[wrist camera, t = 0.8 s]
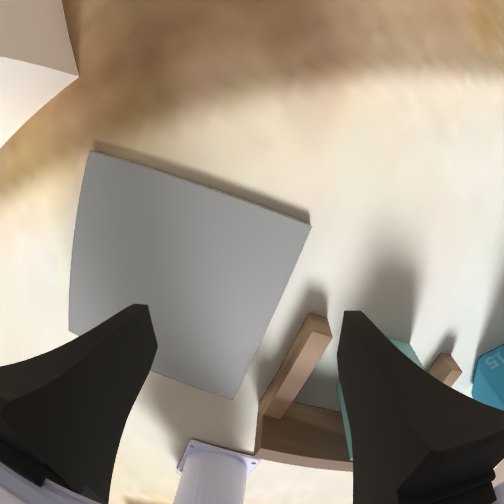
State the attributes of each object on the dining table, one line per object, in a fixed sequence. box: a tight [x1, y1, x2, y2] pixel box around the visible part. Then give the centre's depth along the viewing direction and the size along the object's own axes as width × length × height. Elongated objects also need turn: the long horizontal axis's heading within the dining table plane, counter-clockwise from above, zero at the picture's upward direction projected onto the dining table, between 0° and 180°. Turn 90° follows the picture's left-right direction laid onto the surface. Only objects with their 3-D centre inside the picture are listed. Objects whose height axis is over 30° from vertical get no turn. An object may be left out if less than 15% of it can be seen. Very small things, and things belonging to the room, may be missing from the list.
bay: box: [254, 313, 462, 472], centre depth 20 cm, size 10×15×6 cm
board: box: [69, 151, 312, 400], centre depth 21 cm, size 16×16×1 cm
